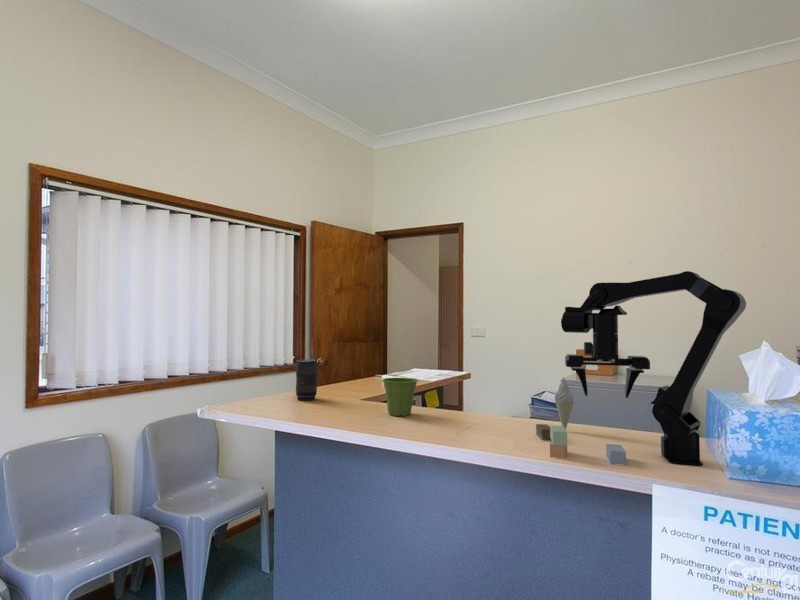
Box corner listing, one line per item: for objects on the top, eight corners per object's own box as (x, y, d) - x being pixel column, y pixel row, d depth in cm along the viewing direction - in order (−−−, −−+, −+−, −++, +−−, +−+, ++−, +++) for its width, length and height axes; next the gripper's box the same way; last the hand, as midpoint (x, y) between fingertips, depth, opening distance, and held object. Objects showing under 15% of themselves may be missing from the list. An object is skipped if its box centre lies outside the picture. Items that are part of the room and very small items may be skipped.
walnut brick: (547, 435, 123) (547, 424, 124) (553, 441, 117) (553, 429, 118) (536, 435, 124) (536, 424, 124) (542, 441, 118) (542, 429, 118)
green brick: (563, 438, 108) (563, 426, 108) (567, 445, 102) (567, 432, 103) (550, 438, 109) (550, 425, 109) (553, 444, 103) (553, 431, 103)
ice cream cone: (551, 429, 129) (550, 376, 130) (565, 428, 131) (565, 375, 132) (563, 433, 124) (562, 378, 125) (578, 432, 126) (577, 377, 127)
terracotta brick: (567, 452, 107) (567, 439, 108) (564, 459, 102) (563, 445, 102) (554, 450, 109) (553, 438, 109) (550, 457, 103) (549, 444, 104)
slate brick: (620, 458, 104) (620, 444, 104) (626, 466, 98) (625, 452, 98) (606, 456, 104) (606, 443, 104) (610, 465, 99) (610, 450, 99)
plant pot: (413, 419, 142) (413, 382, 142) (376, 416, 145) (377, 381, 145) (421, 412, 153) (421, 378, 154) (387, 409, 156) (388, 376, 157)
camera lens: (291, 400, 173) (292, 360, 174) (302, 397, 181) (302, 359, 182) (310, 401, 171) (311, 361, 172) (320, 398, 179) (321, 359, 179)
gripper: (639, 333, 119) (640, 393, 118) (563, 332, 124) (563, 390, 124) (650, 334, 108) (651, 400, 108) (566, 333, 114) (567, 396, 113)
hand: (606, 396), depth 113 cm, fingers open, 9 cm apart
